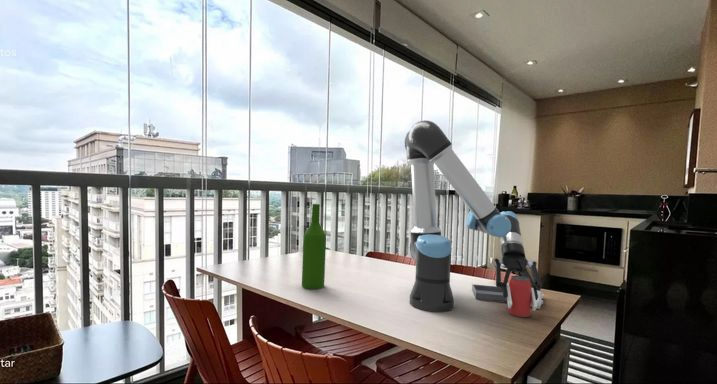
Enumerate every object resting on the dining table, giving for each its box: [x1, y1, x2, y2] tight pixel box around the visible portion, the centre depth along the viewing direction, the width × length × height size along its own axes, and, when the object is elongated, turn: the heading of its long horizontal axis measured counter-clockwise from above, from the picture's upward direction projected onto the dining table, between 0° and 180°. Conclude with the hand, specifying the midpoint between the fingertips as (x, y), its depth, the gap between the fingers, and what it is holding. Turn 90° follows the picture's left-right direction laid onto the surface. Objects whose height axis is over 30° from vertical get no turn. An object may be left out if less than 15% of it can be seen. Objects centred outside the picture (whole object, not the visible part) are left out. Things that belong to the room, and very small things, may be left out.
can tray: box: [471, 283, 507, 303], centre depth 130 cm, size 12×12×2 cm
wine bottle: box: [301, 203, 327, 290], centre depth 135 cm, size 9×9×32 cm
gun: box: [531, 290, 545, 310], centre depth 125 cm, size 18×4×10 cm
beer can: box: [507, 275, 532, 318], centre depth 111 cm, size 7×7×12 cm
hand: (522, 307), depth 108 cm, fingers closed on beer can, 6 cm apart
